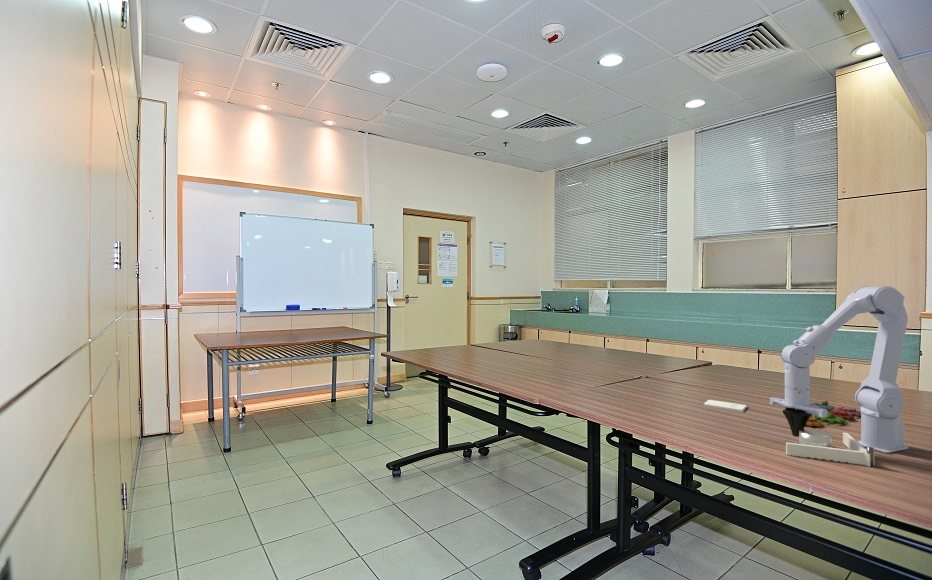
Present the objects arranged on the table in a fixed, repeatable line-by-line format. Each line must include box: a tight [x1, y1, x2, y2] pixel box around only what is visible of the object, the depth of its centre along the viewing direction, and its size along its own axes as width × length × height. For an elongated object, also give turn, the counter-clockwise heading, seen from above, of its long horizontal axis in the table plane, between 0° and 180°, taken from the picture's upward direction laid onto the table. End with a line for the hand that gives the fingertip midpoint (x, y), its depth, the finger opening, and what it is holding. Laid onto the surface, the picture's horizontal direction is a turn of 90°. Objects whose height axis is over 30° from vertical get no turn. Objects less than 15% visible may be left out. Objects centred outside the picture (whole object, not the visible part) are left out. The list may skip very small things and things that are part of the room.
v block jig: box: [785, 432, 875, 468], centre depth 115 cm, size 24×13×4 cm, turn 109°
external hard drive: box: [703, 399, 748, 413], centre depth 163 cm, size 2×8×12 cm
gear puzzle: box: [805, 399, 861, 427], centre depth 149 cm, size 31×16×4 cm, turn 122°
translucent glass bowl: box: [798, 428, 833, 448], centre depth 121 cm, size 7×7×4 cm
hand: (797, 435), depth 126 cm, fingers closed
